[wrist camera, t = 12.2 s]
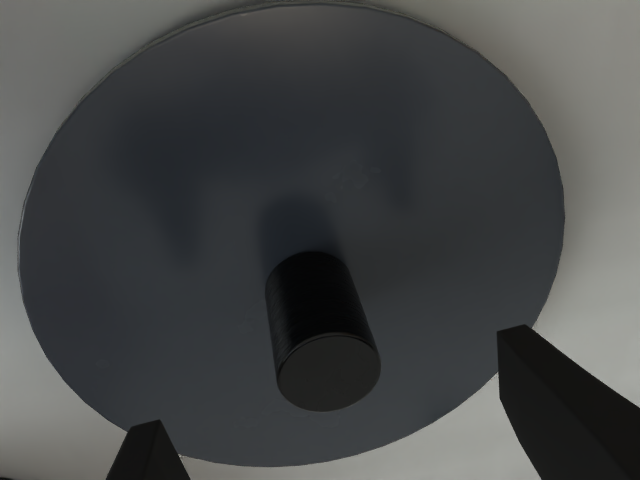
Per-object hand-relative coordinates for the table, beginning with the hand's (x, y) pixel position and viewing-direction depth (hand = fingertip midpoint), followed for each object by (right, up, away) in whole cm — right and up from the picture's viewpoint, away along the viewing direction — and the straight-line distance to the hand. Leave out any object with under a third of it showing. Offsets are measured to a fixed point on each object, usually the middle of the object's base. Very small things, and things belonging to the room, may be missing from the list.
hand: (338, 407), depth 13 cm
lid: (-1, +2, +4) cm, 5 cm away
